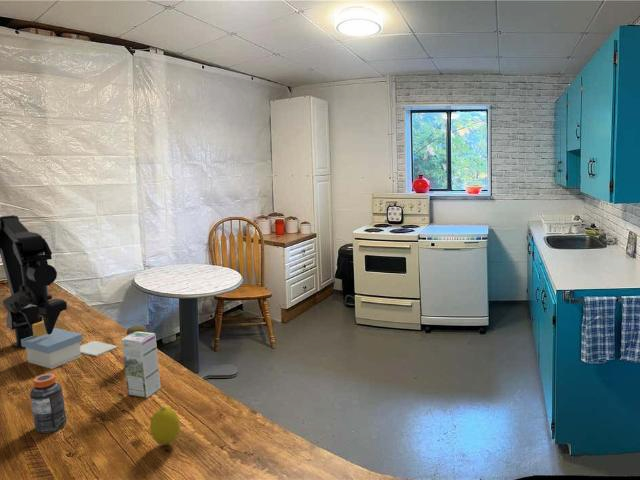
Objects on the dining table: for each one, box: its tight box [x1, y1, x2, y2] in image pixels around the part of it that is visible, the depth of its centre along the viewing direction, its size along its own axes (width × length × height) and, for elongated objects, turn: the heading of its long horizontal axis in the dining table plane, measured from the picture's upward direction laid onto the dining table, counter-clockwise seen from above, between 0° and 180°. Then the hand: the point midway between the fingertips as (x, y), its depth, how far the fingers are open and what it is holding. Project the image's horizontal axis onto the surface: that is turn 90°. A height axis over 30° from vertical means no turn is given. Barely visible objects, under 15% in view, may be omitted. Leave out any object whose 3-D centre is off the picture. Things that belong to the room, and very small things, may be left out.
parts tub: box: [25, 342, 82, 370], centre depth 142 cm, size 11×9×6 cm
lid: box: [21, 320, 84, 354], centre depth 141 cm, size 12×10×6 cm
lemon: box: [149, 406, 181, 446], centre depth 97 cm, size 6×6×8 cm
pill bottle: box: [29, 373, 67, 434], centre depth 105 cm, size 6×6×11 cm
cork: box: [126, 324, 148, 336], centre depth 136 cm, size 6×6×11 cm
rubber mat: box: [80, 340, 119, 357], centre depth 149 cm, size 11×8×1 cm
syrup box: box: [121, 331, 162, 399], centre depth 119 cm, size 6×6×14 cm
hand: (41, 332), depth 143 cm, fingers open, 7 cm apart
